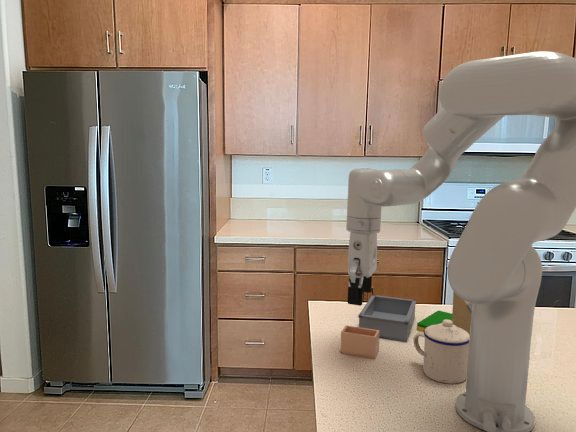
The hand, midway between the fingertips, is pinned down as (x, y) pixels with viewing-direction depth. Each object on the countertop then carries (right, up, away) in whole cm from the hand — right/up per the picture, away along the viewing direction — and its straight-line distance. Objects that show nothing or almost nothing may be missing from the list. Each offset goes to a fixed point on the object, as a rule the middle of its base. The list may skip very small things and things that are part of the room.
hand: (359, 297), depth 102 cm
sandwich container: (+31, -13, +2) cm, 34 cm away
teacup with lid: (+15, -14, -8) cm, 22 cm away
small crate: (0, -13, +1) cm, 13 cm away
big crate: (+10, -11, +18) cm, 23 cm away
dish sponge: (+24, -12, +17) cm, 32 cm away
